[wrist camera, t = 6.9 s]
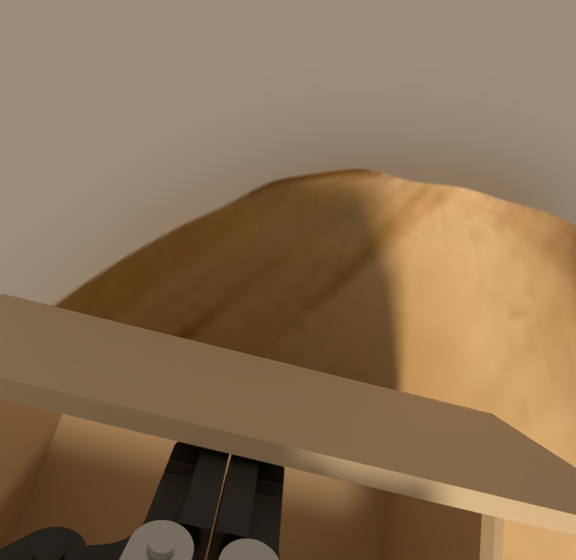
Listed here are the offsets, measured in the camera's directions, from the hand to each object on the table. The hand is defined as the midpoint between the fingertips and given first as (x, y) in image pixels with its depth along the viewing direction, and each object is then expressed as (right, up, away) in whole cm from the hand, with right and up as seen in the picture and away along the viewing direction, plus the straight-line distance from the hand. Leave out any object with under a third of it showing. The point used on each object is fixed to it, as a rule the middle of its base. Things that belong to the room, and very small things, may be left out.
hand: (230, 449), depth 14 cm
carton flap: (0, +1, +4) cm, 4 cm away
